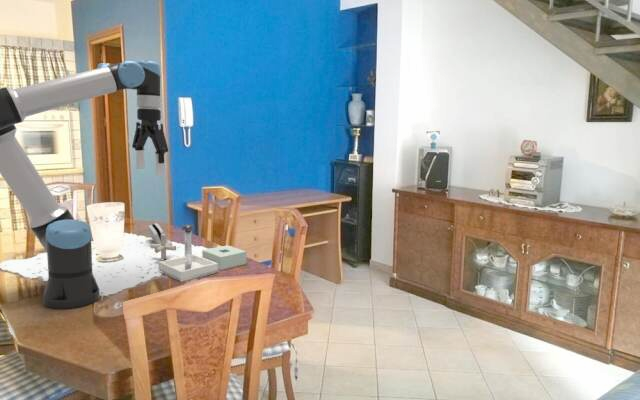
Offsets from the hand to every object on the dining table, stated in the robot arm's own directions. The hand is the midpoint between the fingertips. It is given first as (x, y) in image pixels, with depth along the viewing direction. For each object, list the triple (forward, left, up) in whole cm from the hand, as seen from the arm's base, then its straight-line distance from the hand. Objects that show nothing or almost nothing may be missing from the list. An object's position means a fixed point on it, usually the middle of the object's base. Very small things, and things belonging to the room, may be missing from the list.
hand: (150, 170), depth 164 cm
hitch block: (+26, -8, -37) cm, 46 cm away
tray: (+10, -8, -37) cm, 39 cm away
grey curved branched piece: (+21, +33, -37) cm, 54 cm away
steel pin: (+10, -8, -36) cm, 38 cm away
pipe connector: (+11, +11, -37) cm, 40 cm away
